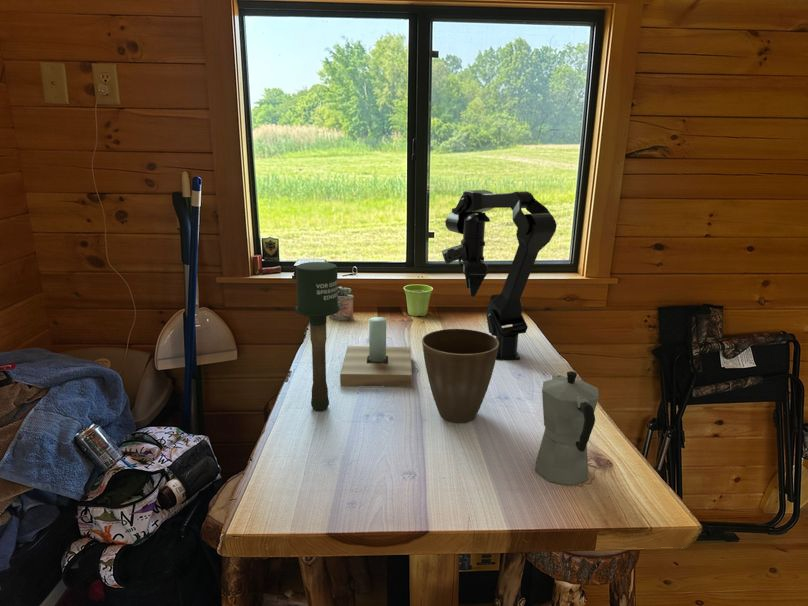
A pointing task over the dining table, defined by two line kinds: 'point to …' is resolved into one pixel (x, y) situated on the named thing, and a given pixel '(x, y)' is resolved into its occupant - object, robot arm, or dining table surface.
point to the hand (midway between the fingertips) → (470, 292)
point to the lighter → (344, 305)
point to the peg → (377, 340)
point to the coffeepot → (566, 429)
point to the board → (376, 368)
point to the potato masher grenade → (317, 318)
